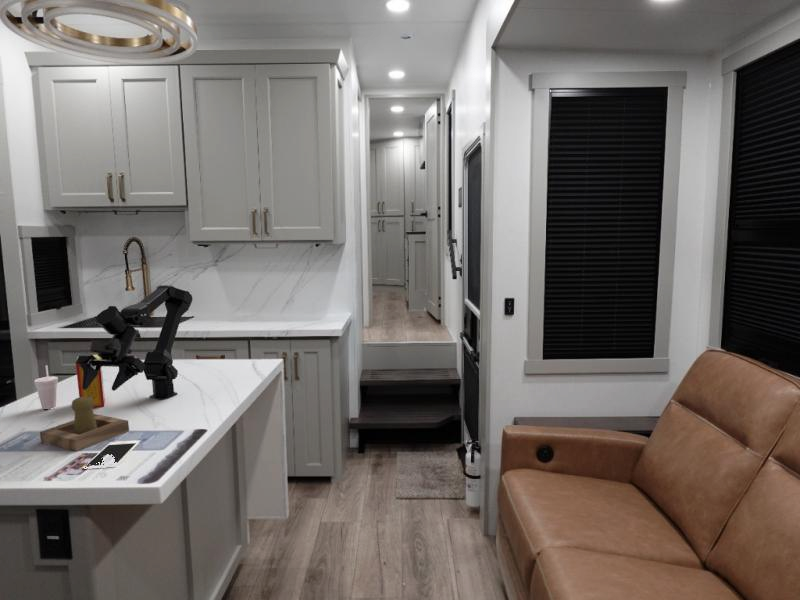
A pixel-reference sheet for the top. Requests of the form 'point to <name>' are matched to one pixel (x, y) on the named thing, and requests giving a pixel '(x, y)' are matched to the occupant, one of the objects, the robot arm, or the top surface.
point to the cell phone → (114, 452)
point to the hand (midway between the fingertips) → (98, 389)
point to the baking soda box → (92, 386)
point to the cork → (83, 415)
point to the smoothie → (47, 390)
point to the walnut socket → (69, 440)
